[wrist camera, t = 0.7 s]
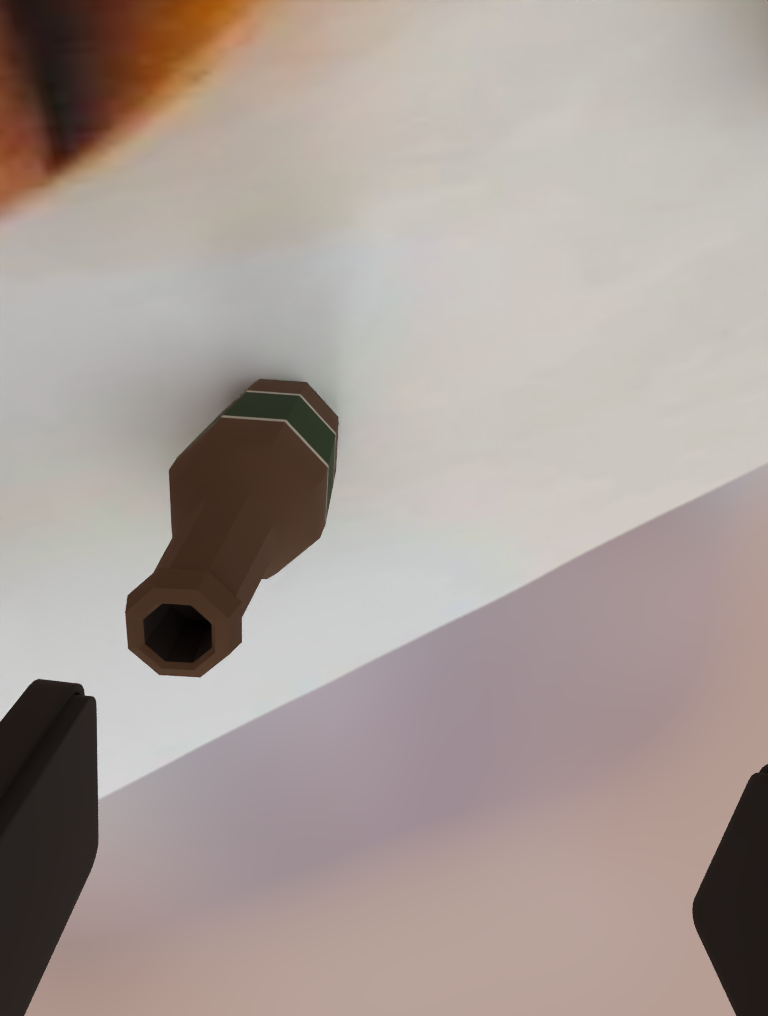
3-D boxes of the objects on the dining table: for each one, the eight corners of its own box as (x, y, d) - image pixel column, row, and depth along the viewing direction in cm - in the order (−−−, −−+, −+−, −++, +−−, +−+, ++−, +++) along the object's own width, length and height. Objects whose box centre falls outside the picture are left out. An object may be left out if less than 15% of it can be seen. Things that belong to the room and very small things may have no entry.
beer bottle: (360, 470, 43) (340, 703, 21) (250, 505, 44) (118, 765, 22) (319, 356, 40) (245, 483, 18) (203, 395, 41) (-5, 563, 19)
